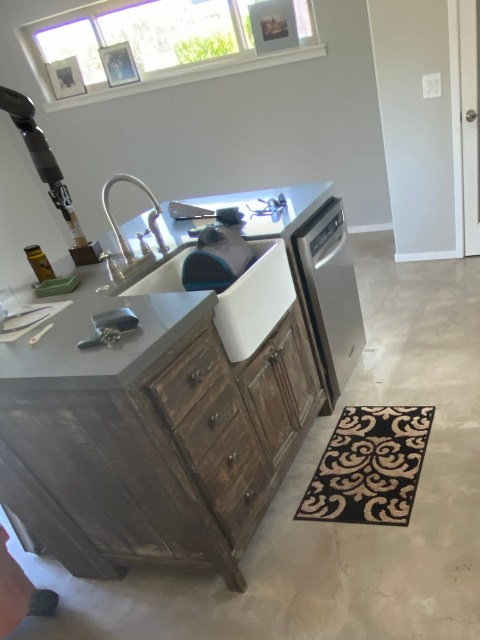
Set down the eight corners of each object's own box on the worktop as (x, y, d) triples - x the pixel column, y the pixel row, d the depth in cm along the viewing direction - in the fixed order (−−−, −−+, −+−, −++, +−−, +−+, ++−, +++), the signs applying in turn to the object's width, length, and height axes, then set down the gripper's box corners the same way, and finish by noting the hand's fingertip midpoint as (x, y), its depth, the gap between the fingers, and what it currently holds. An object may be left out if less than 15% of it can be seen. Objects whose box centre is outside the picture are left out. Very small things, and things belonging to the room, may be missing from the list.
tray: (37, 297, 175) (33, 290, 173) (47, 287, 182) (43, 281, 181) (70, 291, 175) (67, 284, 174) (79, 282, 183) (76, 275, 181)
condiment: (60, 281, 187) (42, 245, 179) (36, 288, 183) (16, 252, 175) (57, 277, 191) (39, 242, 183) (33, 284, 188) (13, 248, 180)
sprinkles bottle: (74, 247, 200) (56, 208, 191) (83, 244, 203) (66, 205, 194) (82, 247, 198) (64, 208, 189) (91, 244, 201) (74, 205, 192)
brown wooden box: (75, 266, 201) (67, 249, 197) (82, 259, 207) (74, 243, 203) (99, 262, 201) (91, 245, 197) (105, 255, 208) (98, 239, 204)
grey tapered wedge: (226, 201, 241) (175, 198, 245) (219, 205, 235) (166, 202, 238) (230, 220, 246) (179, 216, 250) (222, 224, 240) (171, 221, 243)
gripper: (42, 164, 188) (66, 216, 199) (28, 170, 177) (54, 225, 189) (63, 161, 188) (86, 213, 200) (50, 166, 178) (75, 222, 189)
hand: (70, 219), depth 194 cm, fingers closed on sprinkles bottle, 4 cm apart
